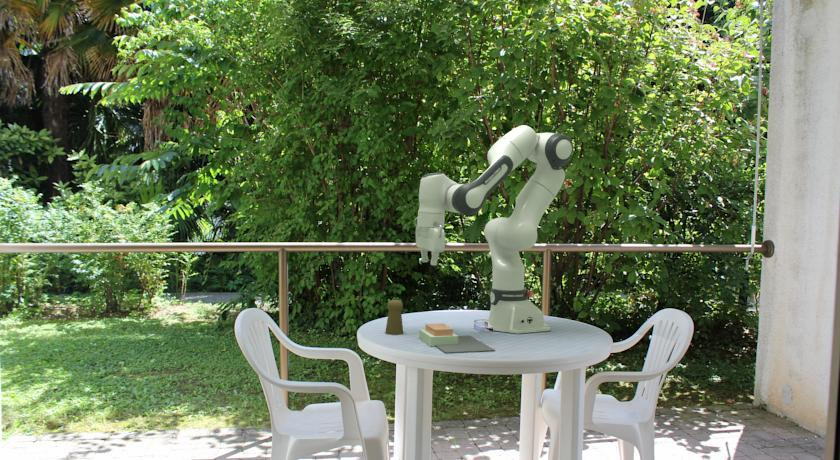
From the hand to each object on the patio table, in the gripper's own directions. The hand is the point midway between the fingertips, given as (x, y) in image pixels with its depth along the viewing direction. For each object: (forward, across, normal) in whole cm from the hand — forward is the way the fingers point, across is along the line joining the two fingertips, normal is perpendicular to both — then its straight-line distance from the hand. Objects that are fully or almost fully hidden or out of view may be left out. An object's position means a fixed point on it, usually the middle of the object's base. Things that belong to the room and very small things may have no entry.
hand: (429, 263), depth 236 cm
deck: (+24, -11, -1) cm, 26 cm away
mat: (+24, -16, -6) cm, 29 cm away
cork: (+24, +5, +9) cm, 26 cm away
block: (+21, -11, -1) cm, 24 cm away
